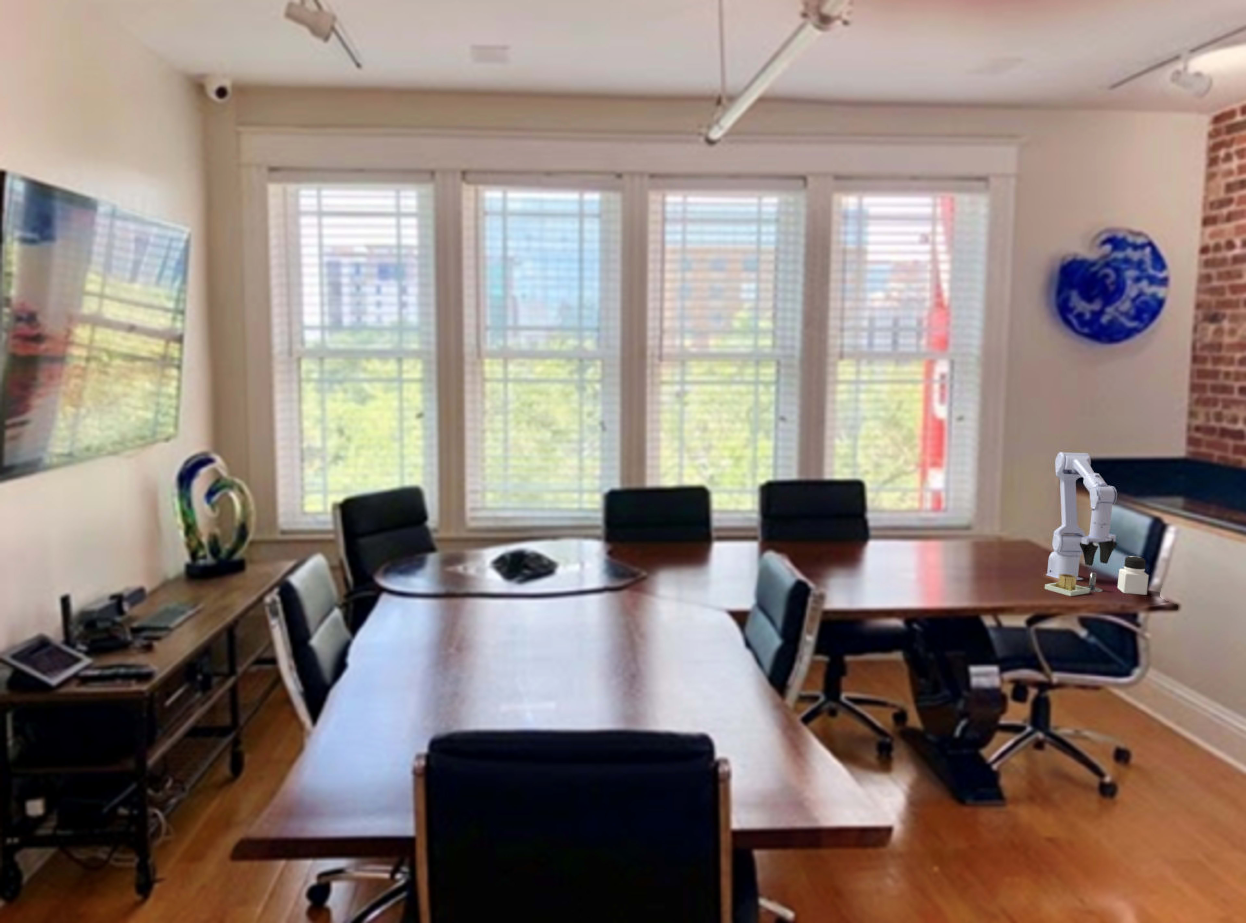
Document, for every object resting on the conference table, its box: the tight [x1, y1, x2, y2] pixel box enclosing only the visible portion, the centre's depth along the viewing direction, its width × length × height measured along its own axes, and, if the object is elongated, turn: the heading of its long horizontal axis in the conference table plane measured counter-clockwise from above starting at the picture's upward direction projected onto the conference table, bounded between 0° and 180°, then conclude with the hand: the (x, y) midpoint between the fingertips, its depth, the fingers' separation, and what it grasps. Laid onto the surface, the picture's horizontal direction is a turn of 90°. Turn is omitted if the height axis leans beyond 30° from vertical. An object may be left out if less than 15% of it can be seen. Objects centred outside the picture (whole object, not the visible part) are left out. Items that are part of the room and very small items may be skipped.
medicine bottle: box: [1117, 555, 1150, 596], centre depth 319 cm, size 7×7×12 cm
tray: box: [1044, 582, 1091, 597], centre depth 318 cm, size 10×10×2 cm
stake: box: [1084, 572, 1103, 593], centre depth 321 cm, size 6×6×6 cm
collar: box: [1055, 574, 1077, 591], centre depth 318 cm, size 5×6×5 cm
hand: (1096, 564), depth 314 cm, fingers open, 7 cm apart
